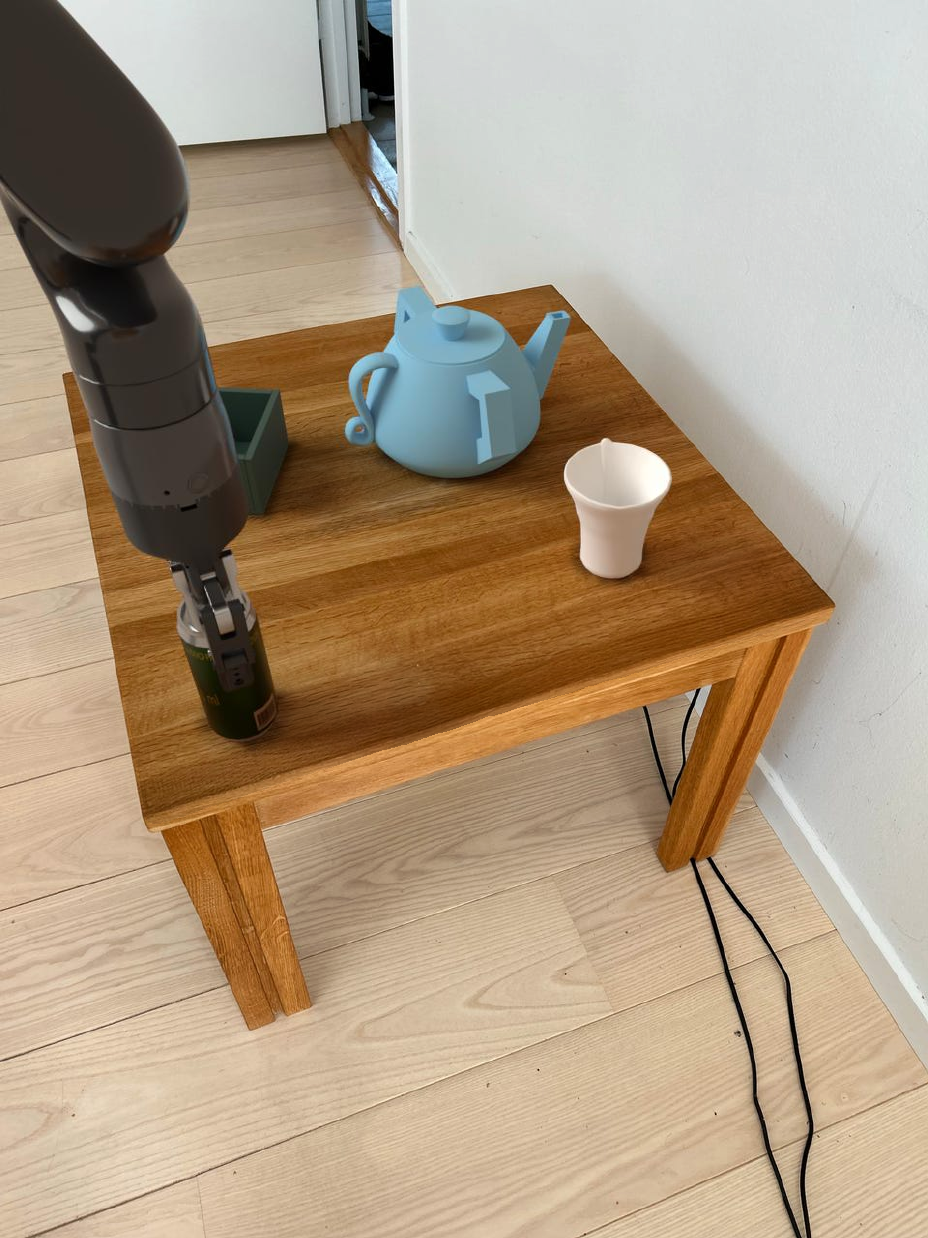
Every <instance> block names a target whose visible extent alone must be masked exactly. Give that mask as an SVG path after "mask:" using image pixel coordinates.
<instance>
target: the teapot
mask: <svg viewBox="0 0 928 1238" xmlns="http://www.w3.org/2000/svg"><path fill="white" fill-rule="evenodd" d="M395 309H396V310H395V317H394V328H393V333H394V334H393V336H392V337H391V339H390V340H389V342H388V343H387V344H386V346H385V348H384V350H383V351H381V352H380V351H379V352H373V353H370V354H367V355H365V356H364V357H361V358H360V359H359V360H357V361H356V363H354V365H353V366H352V368H351V370H350V372H349V375H348V388H349V393H350V396H351V399H352V401H353V404H354V406H355V407H356V410H357V413H358V414H359V416H353V417H351V418H350V419H349V420H348V421H347V422H346V425H345V427H344V428H345V429H344V434H345V437H346V439H347V441H348V442H349V443H350V444H352V445H355V446H358V447H367V446H370V445H371V444H373V443H375V444H376V445H377V448H379V449H380V450H381V451H382V452H383V453H385V454H386V455H387V456H388V457H390V459H392V460H394V461H395V462H396V463H398V464H399V465H401V466H402V467H404V468H406V469H408V470H410V471H412V472H415V473H418V474H421V475H424V476H427V477H433V478H441V479H460V478H461V479H463V478H469V477H470V478H471V477H476V476H478V475H479V476H480V475H483V474H487V473H490V472H492V471H494V470H496V469H499V468H501V467H503V466H504V465H506V464H507V463H508V462H510V461H512V460H513V459H514V458H515V457H517V456H519V454H520V453H522V452H523V451H524V450H525V449H526V448H527V447H528V446H529V445H530V444H531V443H532V441H533V440H534V438H535V436H536V434H537V432H538V430H539V427H540V423H541V400H542V399H543V397H544V395H545V392H546V389H547V386H548V384H549V381H550V378H551V375H552V373H553V370H554V367H555V364H556V362H557V359H558V356H559V353H560V350H561V348H562V345H563V342H564V340H565V337H566V335H567V331H568V328H569V326H570V323H571V319H572V318H571V315H570V314H568V313H567V312H566V310H558V311H550V312H546V313H545V317H544V319H543V320H542V322H540V324H539V326H538V327H537V329H536V330H535V332H534V333H533V334H532V336H531V337H530V338H529V340H528V341H527V343H526V344H525V345H524V347H523V349H522V350H521V349H520V347H519V346H518V344H517V343H516V341H515V340H514V338H513V336H512V335H511V334H510V333H509V332H508V330H507V329H506V328H505V327H504V325H503V324H502V323H501V322H500V321H498V320H496V319H495V318H494V317H492V316H491V315H489V314H486V313H483V312H481V311H477V310H473V309H467V308H465V307H463V306H459V305H445V306H441V307H438V308H437V306H436V305H435V303H434V302H433V301H432V299H431V298H430V297H429V296H428V294H427V293H426V291H425V290H424V289H423V287H422V286H421V284H417V285H413V286H411V287H406V288H403V289H402V288H401V289H398V291H397V299H396V308H395ZM370 373H372V374H371V376H370V379H369V383H368V388H367V393H366V397H365V396H364V393H363V380H364V379H365V378H366V377H367V376H368V375H369V374H370ZM358 427H363V429H362V430H360V431H356V429H357V428H358Z"/></svg>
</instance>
